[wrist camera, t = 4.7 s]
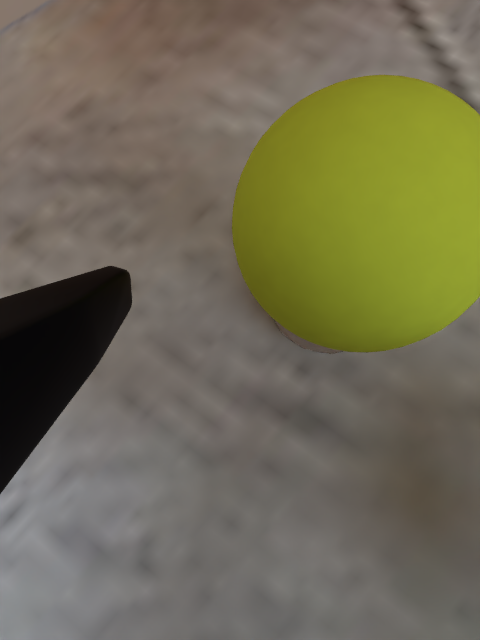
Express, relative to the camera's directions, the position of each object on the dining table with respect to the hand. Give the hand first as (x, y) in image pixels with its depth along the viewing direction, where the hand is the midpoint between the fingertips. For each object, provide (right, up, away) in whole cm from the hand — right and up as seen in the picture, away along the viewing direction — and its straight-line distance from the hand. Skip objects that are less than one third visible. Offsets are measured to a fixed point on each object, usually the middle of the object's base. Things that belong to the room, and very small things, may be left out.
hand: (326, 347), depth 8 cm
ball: (+1, +3, +2) cm, 4 cm away
